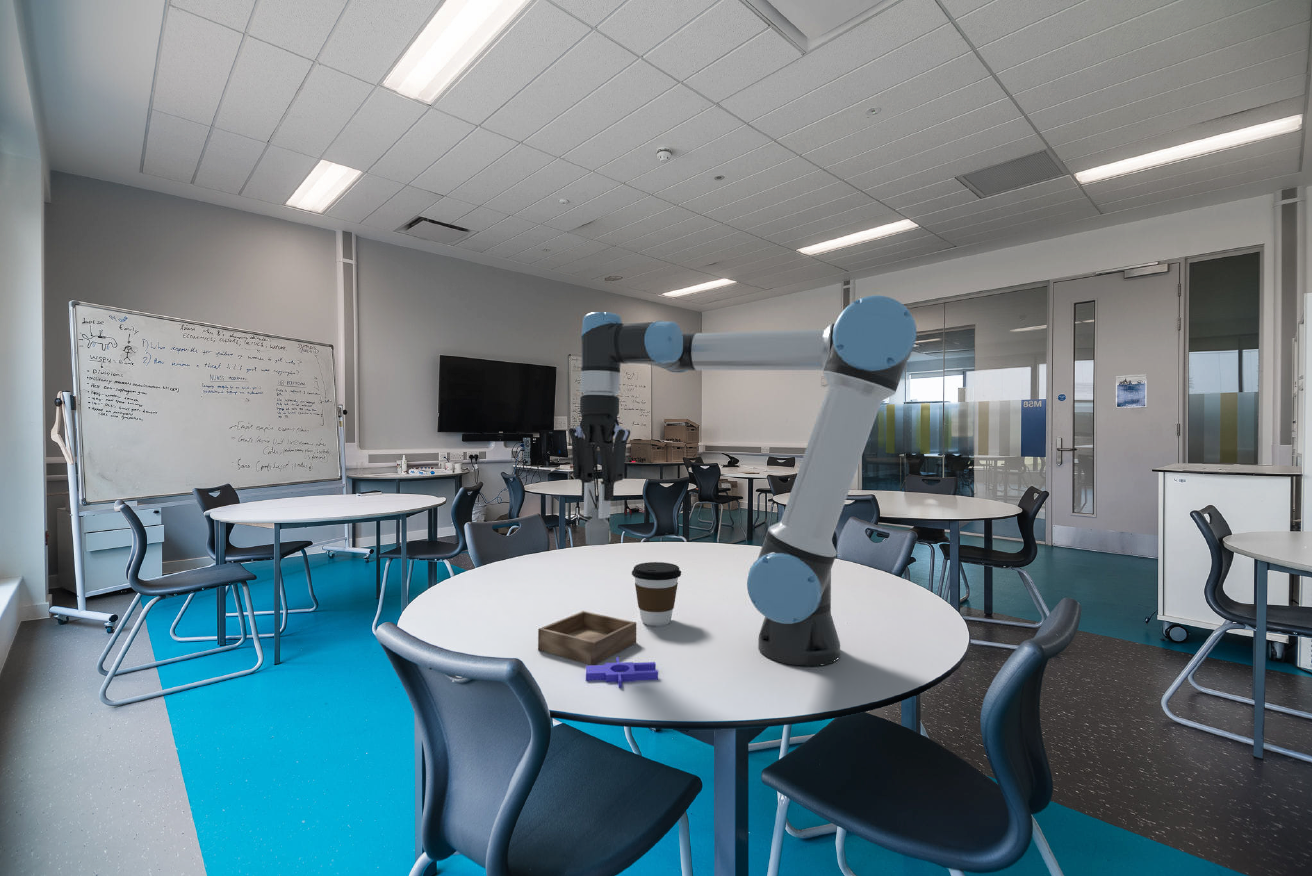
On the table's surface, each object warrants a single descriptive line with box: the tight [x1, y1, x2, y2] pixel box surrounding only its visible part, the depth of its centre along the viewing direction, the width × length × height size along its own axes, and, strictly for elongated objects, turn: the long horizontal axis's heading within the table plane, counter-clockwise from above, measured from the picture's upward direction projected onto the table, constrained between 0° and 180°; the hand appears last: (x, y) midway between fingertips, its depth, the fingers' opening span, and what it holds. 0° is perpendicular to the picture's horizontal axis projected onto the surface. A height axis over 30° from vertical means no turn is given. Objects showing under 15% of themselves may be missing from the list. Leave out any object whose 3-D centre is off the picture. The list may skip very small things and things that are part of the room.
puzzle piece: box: [585, 656, 659, 689], centre depth 98 cm, size 10×12×2 cm
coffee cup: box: [631, 561, 682, 627], centre depth 126 cm, size 11×11×12 cm
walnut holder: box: [537, 610, 637, 666], centre depth 111 cm, size 13×13×4 cm
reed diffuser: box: [574, 443, 612, 546], centre depth 111 cm, size 10×7×20 cm
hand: (596, 516), depth 111 cm, fingers closed on reed diffuser, 3 cm apart
